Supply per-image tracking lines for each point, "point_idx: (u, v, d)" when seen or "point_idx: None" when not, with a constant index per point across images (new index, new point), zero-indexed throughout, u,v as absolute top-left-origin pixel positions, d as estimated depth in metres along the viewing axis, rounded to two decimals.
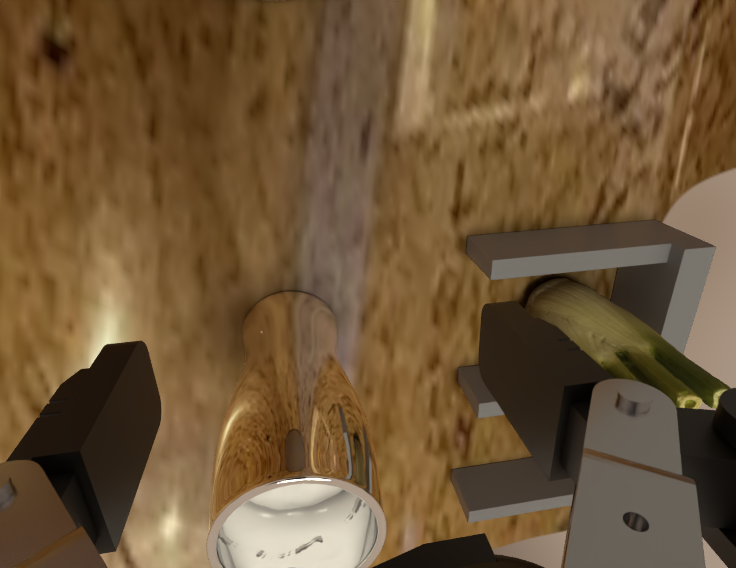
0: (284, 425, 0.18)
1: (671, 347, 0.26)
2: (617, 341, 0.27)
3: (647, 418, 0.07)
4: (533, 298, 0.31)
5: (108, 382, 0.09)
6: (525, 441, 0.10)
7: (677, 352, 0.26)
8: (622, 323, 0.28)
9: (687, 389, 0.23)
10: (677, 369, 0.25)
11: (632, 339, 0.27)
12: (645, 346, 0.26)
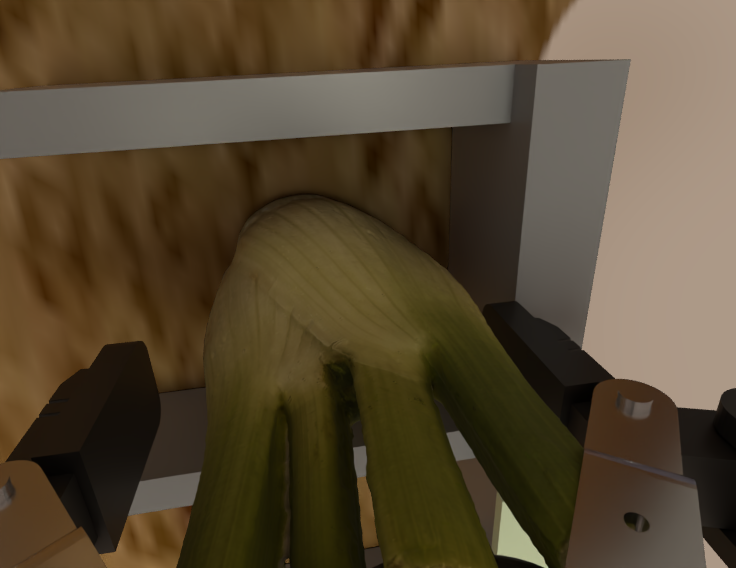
0: None
1: (486, 346, 0.08)
2: (338, 332, 0.09)
3: (648, 418, 0.07)
4: (238, 240, 0.14)
5: (107, 382, 0.09)
6: None
7: (495, 362, 0.08)
8: (375, 281, 0.10)
9: (445, 527, 0.05)
10: (473, 422, 0.07)
11: (379, 325, 0.09)
12: (408, 346, 0.09)
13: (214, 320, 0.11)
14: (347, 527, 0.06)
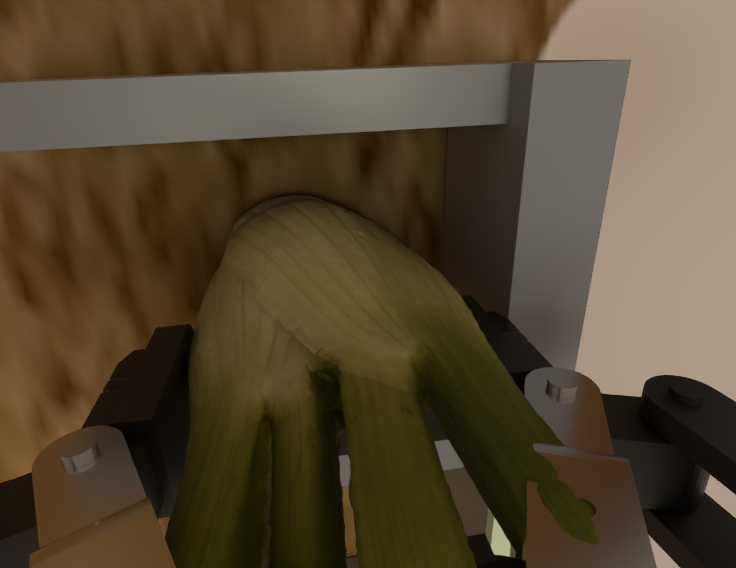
0: None
1: (478, 354, 0.08)
2: (326, 338, 0.09)
3: (571, 403, 0.08)
4: (228, 241, 0.13)
5: (166, 360, 0.10)
6: None
7: (487, 370, 0.08)
8: (364, 285, 0.10)
9: (430, 551, 0.05)
10: (463, 435, 0.07)
11: (368, 331, 0.09)
12: (398, 353, 0.08)
13: (200, 324, 0.11)
14: (329, 546, 0.06)
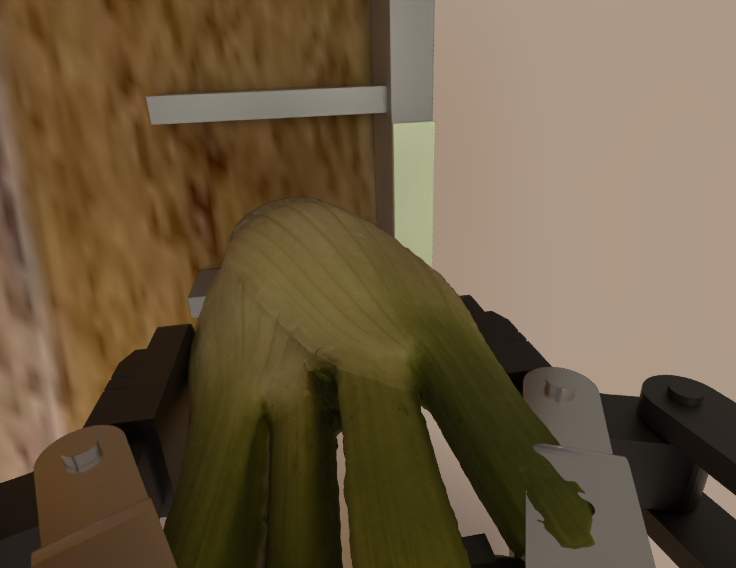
0: None
1: (475, 353, 0.08)
2: (324, 338, 0.09)
3: (570, 403, 0.08)
4: (229, 243, 0.13)
5: (167, 359, 0.10)
6: None
7: (484, 370, 0.08)
8: (363, 286, 0.10)
9: (423, 548, 0.05)
10: (459, 434, 0.07)
11: (366, 331, 0.09)
12: (395, 352, 0.08)
13: (201, 325, 0.11)
14: (324, 544, 0.06)
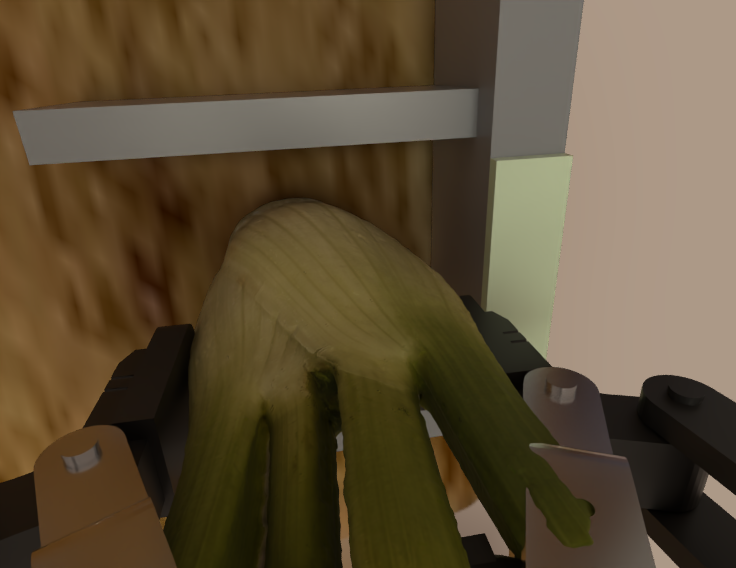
0: None
1: (475, 354, 0.08)
2: (323, 338, 0.09)
3: (570, 403, 0.08)
4: (229, 243, 0.13)
5: (167, 359, 0.10)
6: None
7: (484, 370, 0.08)
8: (363, 286, 0.10)
9: (422, 548, 0.05)
10: (459, 434, 0.07)
11: (365, 332, 0.09)
12: (395, 353, 0.08)
13: (201, 325, 0.11)
14: (324, 544, 0.06)
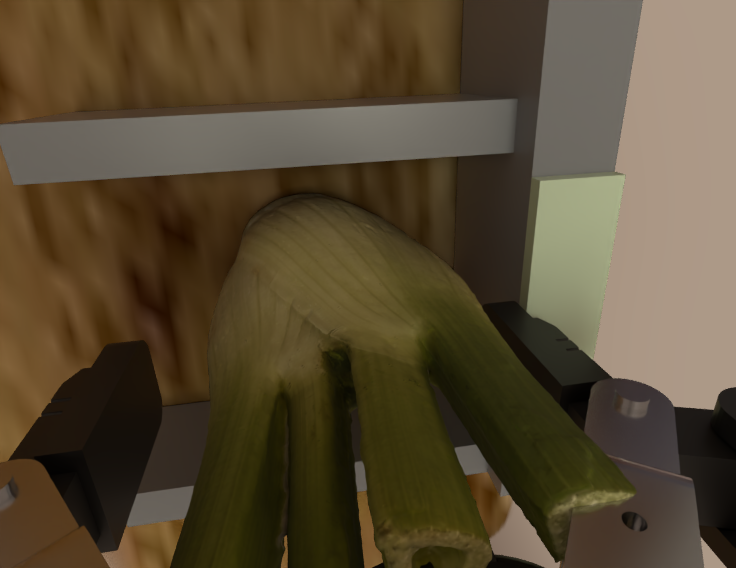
0: None
1: (481, 330, 0.09)
2: (336, 320, 0.09)
3: (645, 417, 0.07)
4: (242, 238, 0.14)
5: (109, 381, 0.09)
6: None
7: (489, 344, 0.08)
8: (373, 272, 0.10)
9: (434, 494, 0.05)
10: (466, 401, 0.07)
11: (376, 312, 0.09)
12: (404, 331, 0.09)
13: (218, 315, 0.12)
14: (342, 502, 0.06)
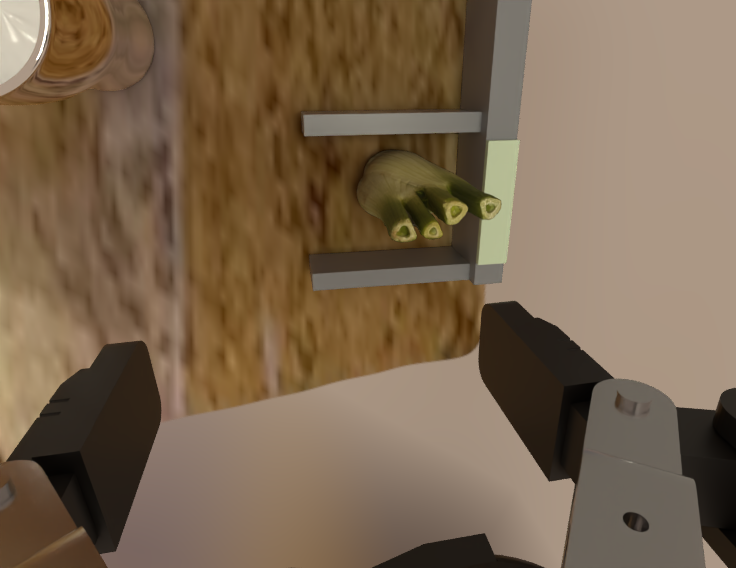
0: None
1: (466, 183, 0.27)
2: (419, 182, 0.28)
3: (647, 418, 0.07)
4: (365, 168, 0.33)
5: (108, 382, 0.09)
6: (525, 441, 0.10)
7: (469, 185, 0.27)
8: (429, 170, 0.29)
9: (455, 198, 0.24)
10: (462, 194, 0.26)
11: (432, 180, 0.28)
12: (442, 184, 0.27)
13: (366, 191, 0.30)
14: (430, 213, 0.25)
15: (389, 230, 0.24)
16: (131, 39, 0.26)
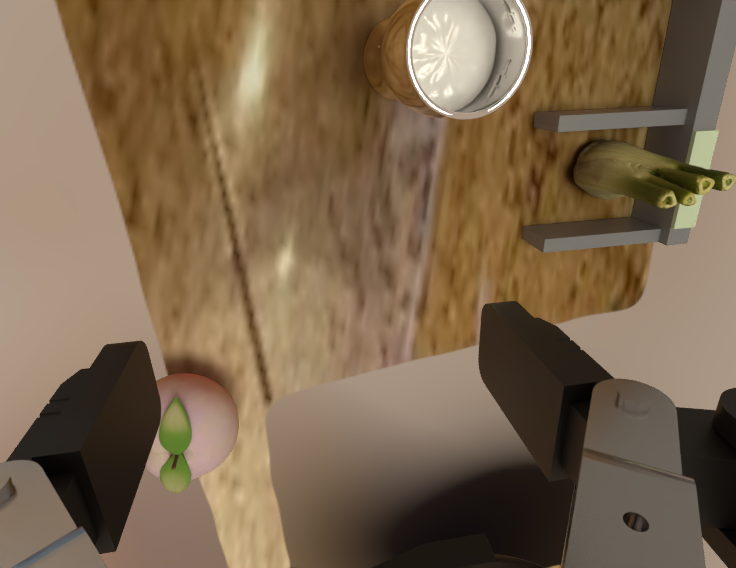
0: None
1: None
2: (650, 165, 0.37)
3: (647, 418, 0.07)
4: (582, 155, 0.41)
5: (108, 382, 0.09)
6: (525, 441, 0.10)
7: None
8: (652, 155, 0.38)
9: (703, 175, 0.33)
10: (695, 173, 0.35)
11: (661, 162, 0.37)
12: (670, 165, 0.36)
13: (595, 173, 0.39)
14: None
15: (655, 200, 0.33)
16: None
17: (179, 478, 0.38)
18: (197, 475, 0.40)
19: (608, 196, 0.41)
